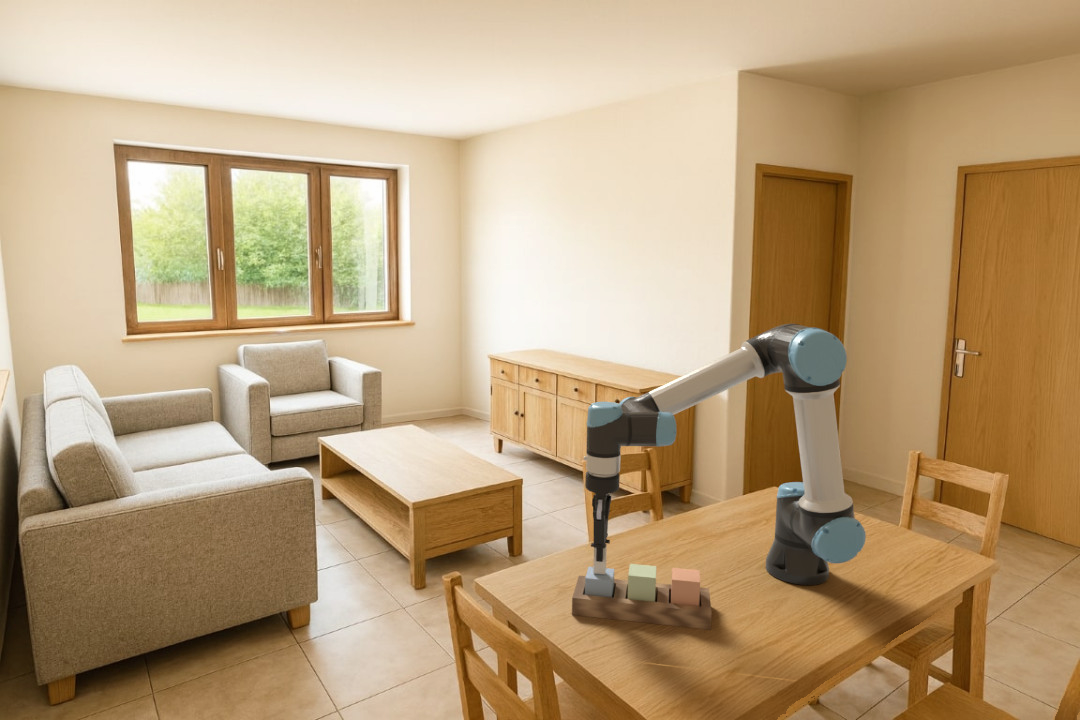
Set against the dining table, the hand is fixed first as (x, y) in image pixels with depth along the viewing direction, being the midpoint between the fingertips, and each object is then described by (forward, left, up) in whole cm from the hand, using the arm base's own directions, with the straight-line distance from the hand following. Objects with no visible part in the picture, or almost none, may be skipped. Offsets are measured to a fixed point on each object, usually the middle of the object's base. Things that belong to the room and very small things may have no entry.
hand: (599, 572), depth 158 cm
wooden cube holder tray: (-10, 0, -8) cm, 13 cm away
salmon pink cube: (-19, 0, -6) cm, 20 cm away
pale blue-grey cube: (0, 0, -7) cm, 7 cm away
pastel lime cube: (-10, 0, -6) cm, 11 cm away
